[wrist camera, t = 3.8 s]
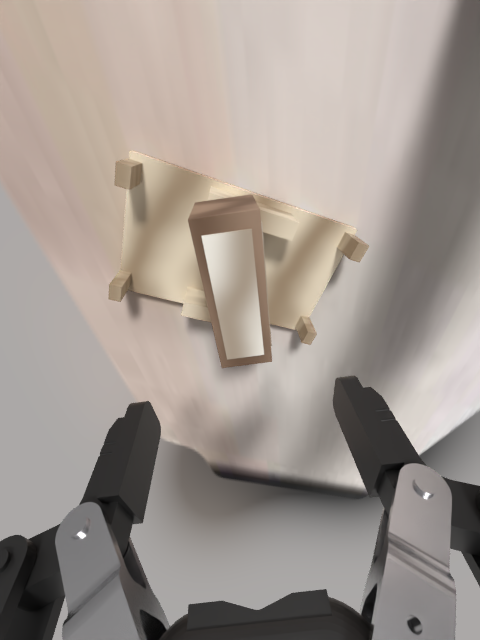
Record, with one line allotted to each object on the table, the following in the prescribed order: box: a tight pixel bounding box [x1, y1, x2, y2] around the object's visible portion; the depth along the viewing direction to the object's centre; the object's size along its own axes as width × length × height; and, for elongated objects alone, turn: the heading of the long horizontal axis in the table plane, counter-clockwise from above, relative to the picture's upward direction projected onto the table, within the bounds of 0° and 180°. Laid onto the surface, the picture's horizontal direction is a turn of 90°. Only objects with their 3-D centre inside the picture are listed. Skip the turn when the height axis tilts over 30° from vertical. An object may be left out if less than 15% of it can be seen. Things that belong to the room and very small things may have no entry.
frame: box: [188, 194, 272, 368], centre depth 21 cm, size 4×12×5 cm, turn 7°
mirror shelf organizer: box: [109, 151, 369, 345], centre depth 24 cm, size 20×12×4 cm, turn 72°
